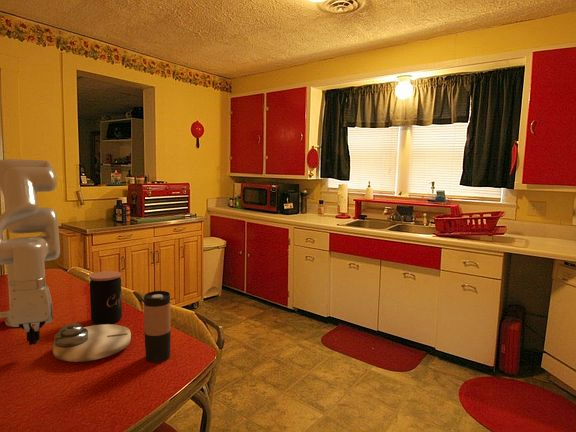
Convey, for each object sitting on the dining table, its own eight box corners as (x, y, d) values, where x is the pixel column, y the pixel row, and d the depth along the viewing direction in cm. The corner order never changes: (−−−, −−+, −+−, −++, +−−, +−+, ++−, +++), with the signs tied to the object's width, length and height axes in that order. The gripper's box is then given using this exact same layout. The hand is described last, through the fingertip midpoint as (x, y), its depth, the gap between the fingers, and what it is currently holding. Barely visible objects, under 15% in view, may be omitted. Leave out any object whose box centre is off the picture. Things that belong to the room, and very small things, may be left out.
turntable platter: (45, 366, 105) (44, 359, 105) (60, 334, 125) (60, 328, 125) (130, 354, 113) (129, 348, 113) (131, 326, 134) (131, 320, 133)
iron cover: (52, 349, 111) (51, 334, 111) (58, 337, 119) (57, 323, 119) (86, 345, 114) (85, 330, 114) (89, 333, 123) (89, 319, 122)
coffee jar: (110, 327, 136) (108, 279, 134) (84, 324, 138) (82, 277, 136) (128, 316, 147) (126, 272, 145) (104, 314, 149) (102, 270, 147)
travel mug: (149, 351, 119) (147, 290, 117) (173, 351, 120) (172, 290, 117) (141, 363, 111) (140, 298, 109) (167, 363, 112) (167, 298, 110)
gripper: (-5, 289, 105) (-1, 352, 107) (56, 285, 110) (59, 344, 112) (4, 282, 112) (8, 340, 114) (61, 278, 117) (64, 334, 119)
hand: (33, 342), depth 113 cm, fingers closed
